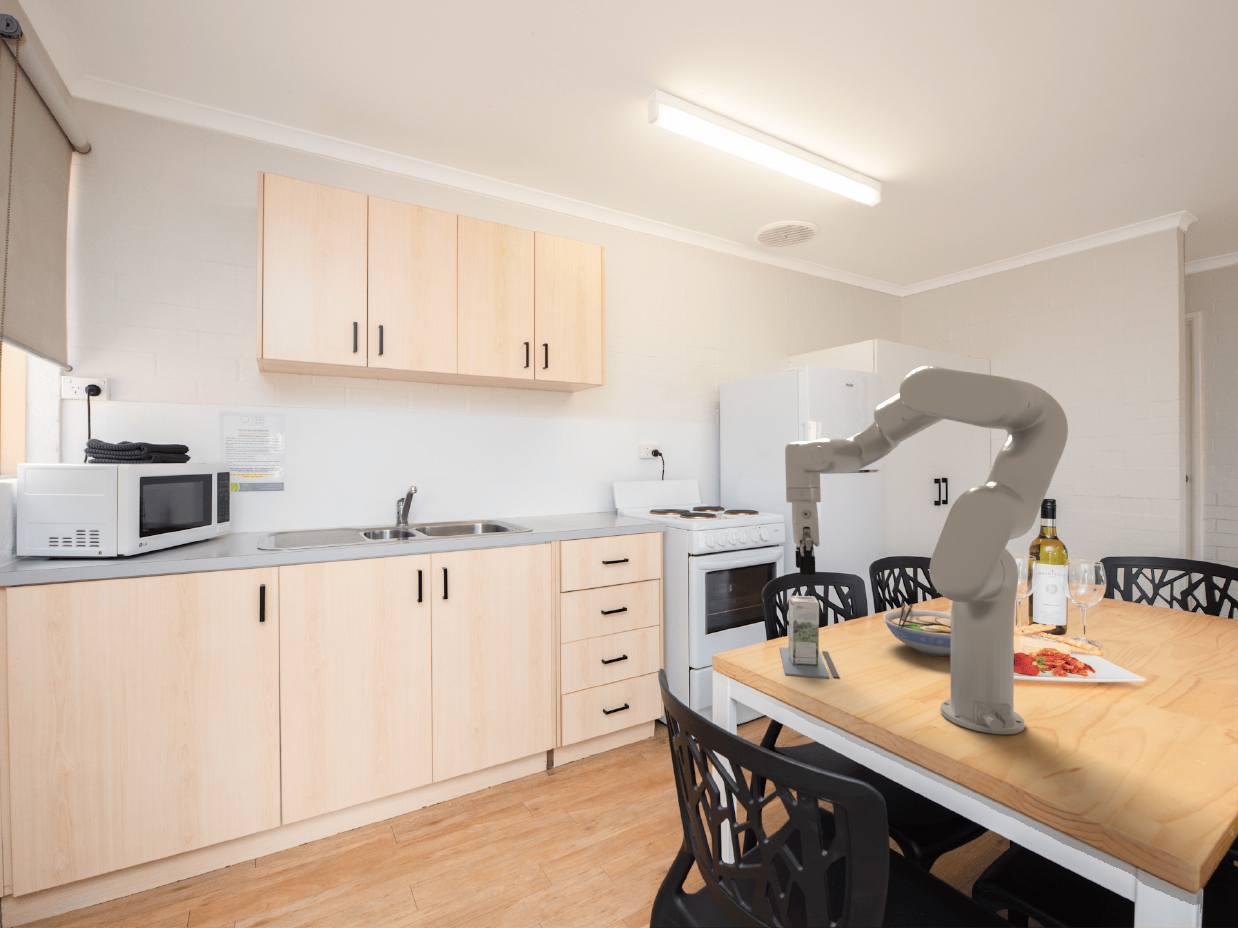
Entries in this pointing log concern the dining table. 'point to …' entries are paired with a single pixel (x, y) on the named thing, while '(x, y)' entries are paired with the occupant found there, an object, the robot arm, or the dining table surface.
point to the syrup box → (803, 630)
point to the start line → (830, 664)
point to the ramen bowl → (921, 629)
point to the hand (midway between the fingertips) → (805, 570)
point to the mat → (803, 667)
